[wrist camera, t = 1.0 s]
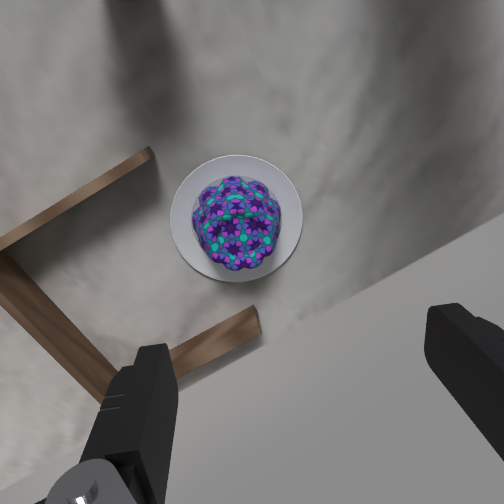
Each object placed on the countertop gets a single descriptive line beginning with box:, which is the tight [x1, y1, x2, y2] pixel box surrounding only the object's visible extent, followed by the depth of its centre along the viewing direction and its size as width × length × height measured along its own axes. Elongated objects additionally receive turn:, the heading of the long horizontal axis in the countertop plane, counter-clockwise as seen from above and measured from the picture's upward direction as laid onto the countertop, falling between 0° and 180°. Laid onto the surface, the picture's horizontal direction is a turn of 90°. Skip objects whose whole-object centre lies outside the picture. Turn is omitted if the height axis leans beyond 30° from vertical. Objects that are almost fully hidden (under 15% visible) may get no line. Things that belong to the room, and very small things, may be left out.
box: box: [0, 147, 262, 404], centre depth 32 cm, size 17×19×4 cm
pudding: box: [170, 155, 303, 282], centre depth 31 cm, size 12×12×5 cm
